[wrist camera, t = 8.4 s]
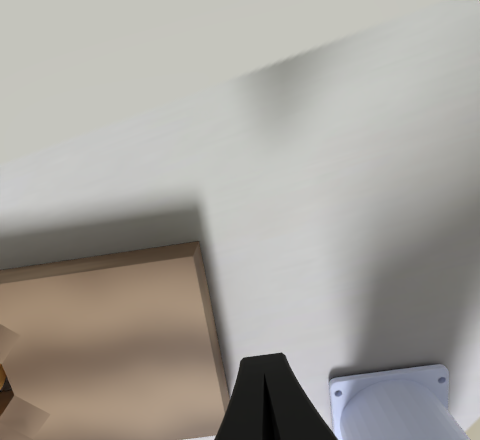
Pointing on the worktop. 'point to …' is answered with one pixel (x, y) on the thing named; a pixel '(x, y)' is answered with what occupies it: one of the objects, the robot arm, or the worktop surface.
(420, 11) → the worktop surface
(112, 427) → the hole board
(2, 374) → the ball
